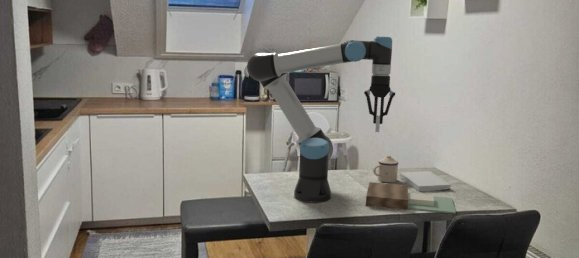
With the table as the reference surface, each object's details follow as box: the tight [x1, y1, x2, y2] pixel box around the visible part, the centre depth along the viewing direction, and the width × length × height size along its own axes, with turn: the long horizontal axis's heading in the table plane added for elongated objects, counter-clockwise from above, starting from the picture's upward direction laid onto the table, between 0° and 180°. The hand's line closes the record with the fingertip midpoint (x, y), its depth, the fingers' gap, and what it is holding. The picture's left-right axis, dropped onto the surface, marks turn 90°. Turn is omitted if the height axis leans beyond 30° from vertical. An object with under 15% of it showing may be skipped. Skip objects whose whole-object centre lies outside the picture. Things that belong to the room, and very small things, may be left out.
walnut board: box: [365, 181, 409, 211], centre depth 214 cm, size 16×20×4 cm
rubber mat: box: [407, 195, 457, 215], centre depth 211 cm, size 18×18×1 cm
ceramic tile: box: [408, 192, 434, 206], centre depth 211 cm, size 10×8×2 cm
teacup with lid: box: [373, 155, 399, 184], centre depth 242 cm, size 12×9×12 cm
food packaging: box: [399, 170, 452, 192], centre depth 239 cm, size 15×3×20 cm
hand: (377, 131), depth 219 cm, fingers closed
